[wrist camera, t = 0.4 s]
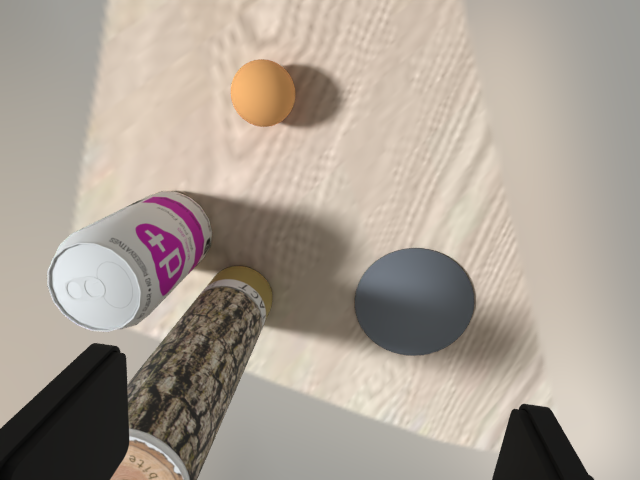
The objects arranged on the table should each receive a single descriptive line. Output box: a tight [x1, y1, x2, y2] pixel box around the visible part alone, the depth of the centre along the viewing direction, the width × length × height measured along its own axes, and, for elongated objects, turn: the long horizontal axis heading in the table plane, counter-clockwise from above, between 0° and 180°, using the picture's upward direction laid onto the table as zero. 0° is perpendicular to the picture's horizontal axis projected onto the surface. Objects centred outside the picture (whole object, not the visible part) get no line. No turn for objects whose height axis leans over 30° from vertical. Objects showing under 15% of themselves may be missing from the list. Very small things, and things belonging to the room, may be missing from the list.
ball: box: [231, 60, 295, 127], centre depth 40 cm, size 6×6×6 cm
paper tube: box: [110, 266, 272, 480], centre depth 37 cm, size 7×7×25 cm
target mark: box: [355, 248, 474, 356], centre depth 47 cm, size 12×12×1 cm
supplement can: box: [48, 191, 212, 332], centre depth 40 cm, size 8×8×15 cm
